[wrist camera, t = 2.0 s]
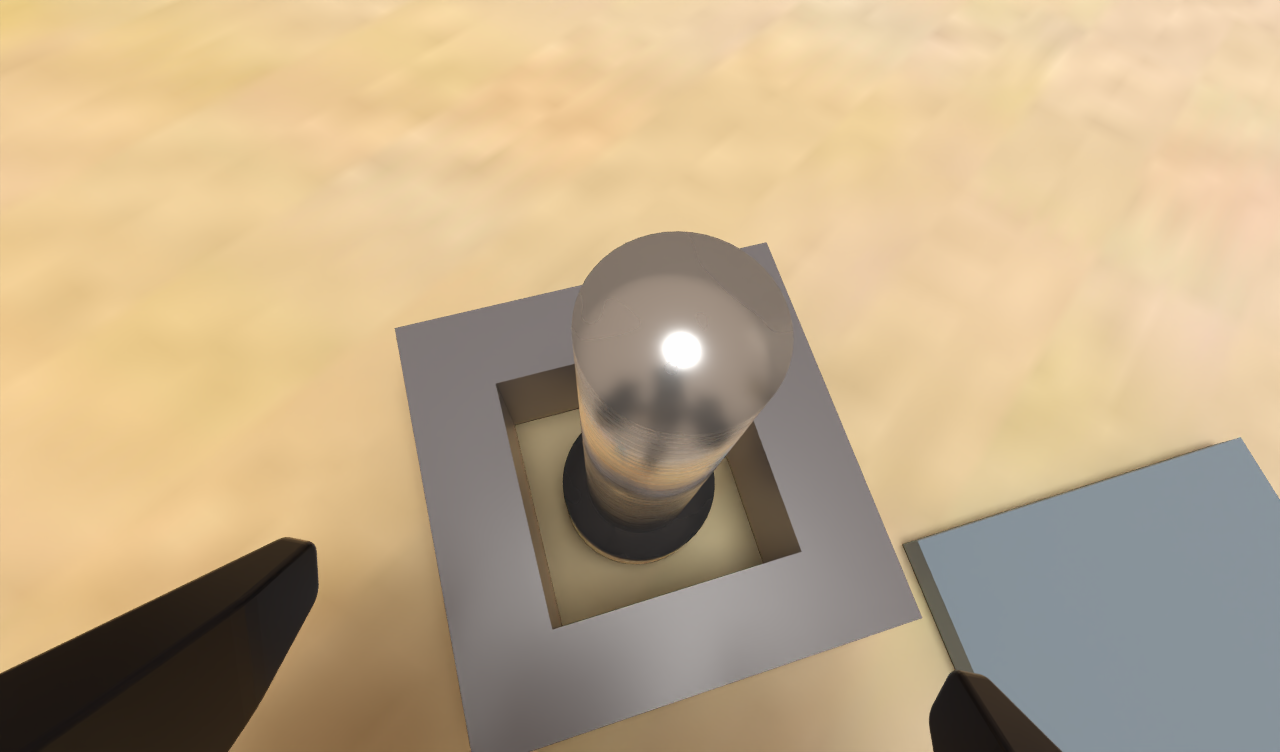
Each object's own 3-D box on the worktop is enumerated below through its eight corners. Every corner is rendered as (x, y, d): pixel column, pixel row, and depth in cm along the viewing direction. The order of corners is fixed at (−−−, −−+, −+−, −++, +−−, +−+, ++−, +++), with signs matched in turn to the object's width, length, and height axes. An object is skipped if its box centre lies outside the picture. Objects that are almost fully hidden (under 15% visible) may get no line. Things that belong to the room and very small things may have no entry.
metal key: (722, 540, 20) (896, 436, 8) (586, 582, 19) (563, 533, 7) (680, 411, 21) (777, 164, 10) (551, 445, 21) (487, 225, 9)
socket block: (859, 617, 19) (922, 617, 16) (501, 737, 18) (474, 770, 14) (739, 303, 23) (766, 242, 19) (431, 378, 21) (394, 328, 17)
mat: (1454, 840, 18) (1501, 852, 17) (1097, 1007, 16) (1127, 1031, 15) (1213, 444, 22) (1240, 437, 21) (902, 544, 20) (917, 540, 19)
